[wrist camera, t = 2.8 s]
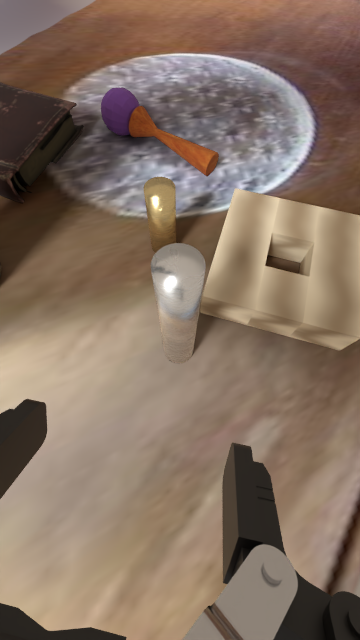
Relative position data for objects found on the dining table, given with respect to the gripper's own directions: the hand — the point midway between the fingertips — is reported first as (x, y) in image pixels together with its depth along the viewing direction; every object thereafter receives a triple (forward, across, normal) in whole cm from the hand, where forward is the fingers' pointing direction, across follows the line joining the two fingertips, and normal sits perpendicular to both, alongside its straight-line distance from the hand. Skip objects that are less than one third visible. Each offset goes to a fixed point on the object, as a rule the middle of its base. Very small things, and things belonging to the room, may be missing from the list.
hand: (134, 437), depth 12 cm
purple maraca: (+42, +10, -17) cm, 46 cm away
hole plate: (+27, -10, -3) cm, 29 cm away
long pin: (+19, 0, +5) cm, 20 cm away
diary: (+39, +36, -14) cm, 55 cm away
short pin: (+28, +5, -4) cm, 29 cm away
